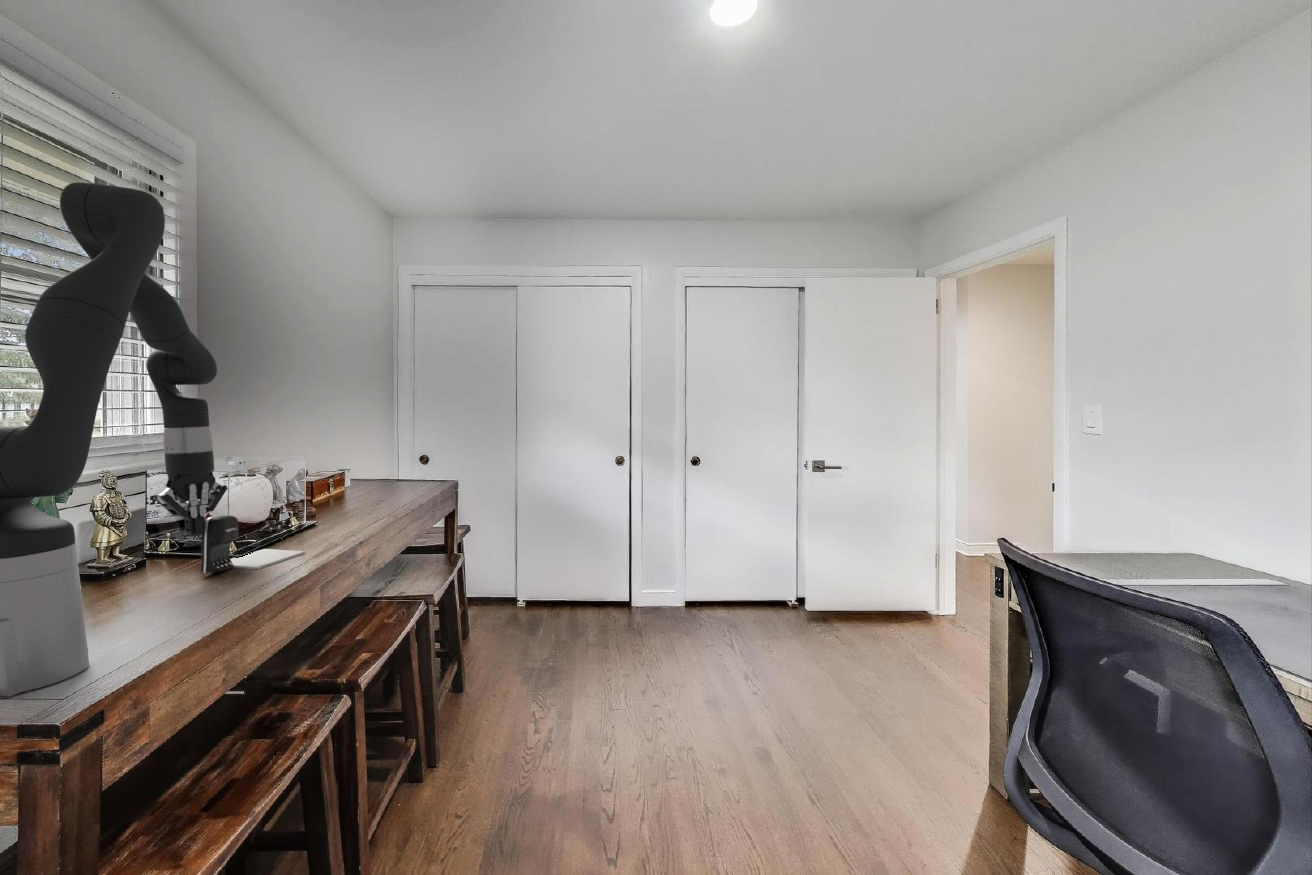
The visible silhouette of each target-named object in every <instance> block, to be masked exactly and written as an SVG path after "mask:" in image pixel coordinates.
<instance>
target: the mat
mask: <svg viewBox="0 0 1312 875" xmlns="http://www.w3.org/2000/svg"><path fill="white" fill-rule="evenodd" d="M250 553H251V554H249V553H247V554H248V555H245V554H244V555H245V556H243V557H239V558H235V557H232V558H230V560H231V562H232V564H233V567H232V568H231V569H246V570H256V569H257V570H260V569H263V568H264V567H265V568H267V567H269V566H271V565H274V564H277V563H280V562H283V561H286V560H289V559H292V558H295V557H298V556H301V555H304V554H306V551H302V550H290V549H275V548H274V549H273V548H263V549H260V550H256V551H253V553H252V552H250ZM268 565H269V566H268Z"/></svg>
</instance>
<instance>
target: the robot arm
mask: <svg viewBox="0 0 1312 875" xmlns="http://www.w3.org/2000/svg"><path fill="white" fill-rule="evenodd" d="M59 208H60V212H61V216H62V218H63V221H64V224H65V225H66V227H67V229H68V230H69V232H70V233H71V235H72V236H73V238H74V239H75V240H76V242H77V243H78V245H79V246H80V247H81V248H82V250H83V251H84V252H85V254H86V255H87V256H88V257H89V258H90V261H88V262H86V263H85V264H83V265H82V266H80V267H78V268H76V269H74V270H72V271H70V272H69V273H68V274H66V275H64V276H62V277H61V278H60V279H58V280H56V281H55V282H54V283H52V284H51V285H49V287H47V288H46V289H45V290H44V291H43V292H42V294H41V295H40V297H39V299H38V300H37V302H36V304H35V306H34V309H33V311H32V314H31V316H30V318H29V320H28V323H27V326H26V328H25V331H24V332H25V333H24V342H25V346H26V349H27V351H28V354H29V356H30V358H31V360H32V362H33V364H34V366H35V368H36V370H37V372H38V374H39V376H40V379H41V381H42V384H43V385H42V387H43V391H42V395H41V396H42V397H41V399H40V400H41V401H40V403H39V406H38V408H37V411H36V414H35V416H34V417H33V420H31V421H32V422H31V423H30V424H29V425H17V426H16V425H12V426H11V425H8V426H0V697H2V696H3V697H12V696H15V695H17V694H20V693H24V692H28V691H32V690H36V689H41V688H43V687H46V686H50V685H53V684H56V683H59V682H61V681H64V680H68V679H69V678H72V677H74V676H75V675H78V674H79V673H81V672H83V671H84V670H86V669H87V668H88V667H89V665H90V660H89V648H88V640H87V631H86V624H85V622H86V621H85V615H84V614H85V613H84V605H83V596H82V595H83V594H82V587H81V577H80V568H79V558H78V550H77V549H78V548H77V540H76V535H75V534H76V533H75V527H74V525H73V524H72V523H71V522H70V521H68V520H66V519H62V518H59V517H55V516H53V515H49V514H47V513H45V512H43V511H42V510H40V509H38V508H37V507H36V506H34V504H33V503H32V500H31V498H46V497H55V496H58V495H62V494H64V493H67V492H69V490H71V489H73V487H74V486H75V485H76V484H77V483H78V481H79V479H80V478H81V476H82V474H83V472H84V470H85V467H86V464H87V460H88V456H89V452H90V447H91V443H92V438H93V434H94V433H93V432H94V428H95V427H94V426H95V421H96V417H97V413H98V412H97V411H98V407H99V403H100V399H101V396H102V392H103V390H104V387H105V384H106V380H107V377H108V373H109V372H110V367H111V365H112V363H113V362H112V361H113V359H114V357H115V355H116V353H117V351H118V348H119V344H120V342H121V339H122V337H123V334H124V331H125V329H126V328H125V327H126V324H127V320H128V317H129V314H130V315H131V317H132V319H133V322H134V323H135V325H136V327H137V329H138V331H139V333H140V335H141V336H142V339H143V340H144V342H145V343H146V345H147V346H149V348H152V349H153V351H152V352H150V353H149V355H148V356H147V358H146V363H145V364H146V365H145V366H146V371H147V373H148V377H149V378H150V380H151V383H152V385H153V386H154V389H155V391H156V394H157V396H158V399H159V402H160V405H161V410H162V419H163V428H164V429H163V439H162V440H163V450H164V451H163V452H164V453H163V454H164V463H165V464H164V465H165V473H166V475H167V478H168V479H167V482H166V484H165V487H166V488H165V489H164V490H163V491H162V492H161V493H156V494H155V495H154V496H153V499H154V500H155V501H156V502H157V503H158V504H159V505H160V506H161V507H163V508H164V509H165V510H166V511H167V512H169V513H170V514H171V516H173V517H179V518H182V519H183V520H184V521H183V522H184V530H185V534H186V535H187V536H188V537H198V536H202V535H203V532H204V531H205V521H204V520H205V516H206V514H208V513H210V512H211V513H212V512H213V511H214V510H215V509H216V508H217V506H218V505H219V503H220V501H221V499H222V498H223V496H224V495H225V493H226V491H227V490H228V486H227V485H224V484H220V483H218V482H217V481H216V477H215V476H214V474H213V473H214V471H215V459H214V458H215V457H214V448H213V447H214V446H213V444H214V443H213V437H212V432H211V429H210V427H211V426H210V416H209V403H208V402H207V401H206V399H204V398H202V397H196V396H192V395H186V394H183V393H182V392H181V391H180V390H179V389H178V387H177V386H187V385H188V386H197V385H207V384H209V383H211V382H213V381H214V380H215V378H216V376H217V373H218V366H217V362H216V360H215V358H214V356H213V355H212V353H211V352H210V351H209V349H208V348H207V347H206V346H205V345H204V344H203V343H202V342H201V340H199V338H197V336H196V335H195V334H194V333H193V331H191V329H190V328H189V324H188V322H187V321H186V318H185V316H184V313H183V311H182V309H181V307H180V305H179V303H178V302H177V300H176V299H175V298H174V297H173V296H172V295H171V293H169V292H168V291H167V289H165V288H164V287H163V285H161V284H159V283H158V282H157V281H156V280H154V279H153V278H152V277H151V276H149V274H147V273H146V272H147V270H148V268H149V266H150V265H151V262H152V261H153V259H154V257H155V255H156V254H157V251H158V249H159V247H160V245H161V242H162V240H163V237H164V233H165V228H166V227H165V226H166V225H165V224H166V218H165V212H164V209H163V206H162V205H161V203H160V201H159V200H158V199H157V197H155V196H154V195H152V194H151V193H149V192H147V191H144V190H139V189H135V188H130V187H126V186H125V187H124V186H116V185H109V184H108V185H107V184H100V183H99V184H98V183H89V182H77V181H76V182H71V183H69V184H67V185H65V186H64V187H63V189H62V191H61V194H60V197H59Z"/></svg>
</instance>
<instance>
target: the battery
mask: <svg viewBox="0 0 1312 875" xmlns="http://www.w3.org/2000/svg"><path fill="white" fill-rule="evenodd" d="M204 521H205V531H204V532H203V535H201V560H200V562H201V563H200V573H203V574H207V573H208V574H209V573H219V572H220V573H221V572H223V571H227V570H230V569H233V568H232V567H233V564H232V562H231V560H230V559H231V557H230V546H231V543H233V541H235V540H238V539H239V520H238V518H237V516H235V515H214V516H213V515H212V516H209V517H207V518H204Z"/></svg>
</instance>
